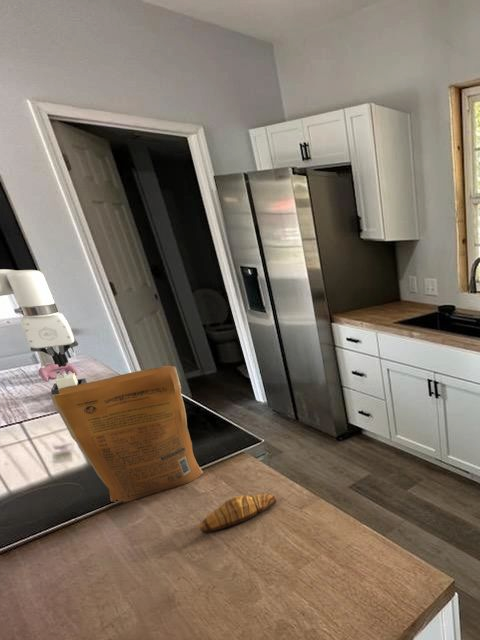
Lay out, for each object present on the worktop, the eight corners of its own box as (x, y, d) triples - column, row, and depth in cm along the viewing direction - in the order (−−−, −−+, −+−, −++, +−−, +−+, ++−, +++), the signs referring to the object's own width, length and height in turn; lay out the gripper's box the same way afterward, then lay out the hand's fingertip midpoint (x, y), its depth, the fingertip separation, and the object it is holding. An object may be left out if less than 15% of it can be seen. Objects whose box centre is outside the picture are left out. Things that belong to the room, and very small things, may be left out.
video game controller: (78, 376, 168) (69, 361, 167) (79, 373, 165) (70, 357, 165) (43, 384, 160) (34, 368, 159) (44, 381, 157) (35, 364, 157)
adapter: (54, 398, 143) (50, 390, 142) (57, 391, 150) (54, 383, 148) (86, 392, 148) (83, 385, 147) (88, 385, 154) (85, 378, 153)
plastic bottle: (44, 372, 169) (23, 324, 162) (68, 368, 173) (48, 322, 166) (43, 376, 165) (21, 327, 157) (67, 372, 169) (47, 324, 162)
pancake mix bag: (212, 479, 97) (176, 367, 86) (102, 514, 85) (45, 390, 75) (208, 467, 101) (173, 359, 91) (103, 499, 90) (50, 380, 80)
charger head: (60, 393, 145) (53, 377, 142) (62, 388, 149) (55, 372, 147) (78, 390, 148) (71, 374, 145) (79, 385, 152) (73, 369, 149)
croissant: (205, 543, 77) (197, 522, 75) (198, 526, 81) (190, 505, 80) (282, 510, 86) (277, 490, 84) (272, 496, 90) (267, 477, 88)
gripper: (1, 315, 122) (27, 373, 129) (72, 309, 131) (93, 363, 138) (6, 311, 128) (31, 367, 134) (74, 306, 137) (94, 358, 143)
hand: (62, 365), depth 136 cm, fingers closed
